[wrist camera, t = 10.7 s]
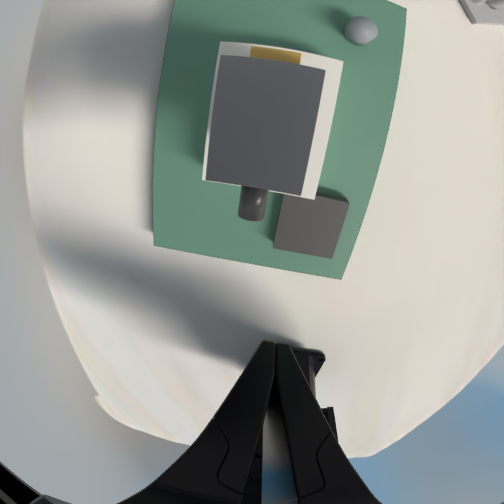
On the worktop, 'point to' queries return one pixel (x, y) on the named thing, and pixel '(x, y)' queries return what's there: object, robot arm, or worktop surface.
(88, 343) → the worktop surface
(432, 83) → the worktop surface
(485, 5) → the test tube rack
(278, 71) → the plug
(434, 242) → the worktop surface
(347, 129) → the board
